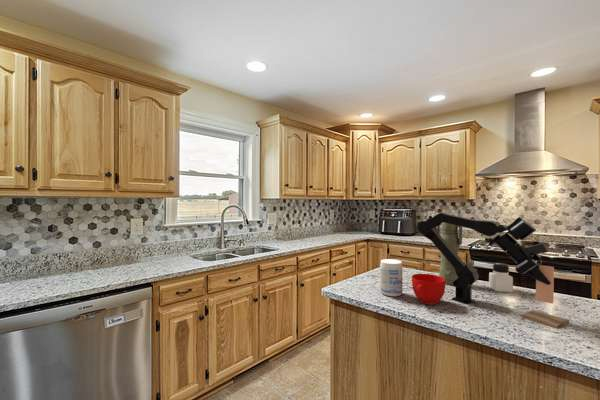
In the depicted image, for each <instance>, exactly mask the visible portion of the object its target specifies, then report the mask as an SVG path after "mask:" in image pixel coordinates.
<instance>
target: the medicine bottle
mask: <svg viewBox="0 0 600 400" xmlns="http://www.w3.org/2000/svg"><path fill="white" fill-rule="evenodd" d="M492 267H493V268H492V272H489V273H488V286H489V288H490V289H492V290H494V291H495V292H501V293H502V292H503V293H504V292H505V293H513V292H514V277H513V276H512V275H509V271H510V269H509V268H510V266H508V265H507V264H504V263H494V264H493V265H492Z"/></svg>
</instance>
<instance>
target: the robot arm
mask: <svg viewBox="0 0 600 400" xmlns="http://www.w3.org/2000/svg"><path fill="white" fill-rule="evenodd" d="M454 215H455V214H448V213H446V212H439V213H437V214H436V215H434V216H433V217H430V218H428V219H427V220H426V219H425V220H422V221H420V222H418V223H417V226H416V229H417V231H418V232H419V234H421V235H422V236H423V237H425V238H426V239H428V240H430V242H432V244H433V245H434V246H435V247H436V248H437V250H438V251H439V252H440V254H441V253H442V254H443V255H444V256H445V258H446V259H447V260H448V261H449V262H450V264H451V265H452V266H453V267H454V270H455V272H456V275H457V276H458V279H456V280H455V281H453V284H454V286H453V287H454V288H455V296H454V297H451V300H454V301H456V302H459V303H462V304H466V305H468V304H470V303H475V302H476V299H473V298H472V296H473V294H472V290H473V289H472V286H473V285H474V284H475V283H476V282H477V281H478V280H479V277H480V276H479V273H478V269H477V268H476V267H475V266H474V265H473V264H472V263H471V262H468V263H466V262H465V261H463V260H462V259H461V258H460V256H459V254H458V255H457V254H456V253H455V252H454V251H453V250H452V248H451V247H450V246H449V245H448V244H447V243H446V242H445V240H444V239H443V238H442V237H441V233H440V234H439V232H438V229H437V226H438V225H440V224H441V223H443V222H445V223H449V224H453V225H457V226H461V227H462V228H467V229H471V230H473V231H475V232H477V233H479V234H481V235H484V236H487V237H490V238H488V240H489V243H488V246H490V247H491V246H492V245H494V244H495V245H497V247H499V248H500V249H501V250H502V251H503V252H504V253H505V254H506V256H507V258H510V259H511V260H513V261H514V262H515V272H517V274H519V275H520V276H521V275H524V276H526V277H529V278H532V279H533V280H535V281H536V280H538V281H540V282H542V283H545V284H547V285H549V284H551V283H550V281H549V280H548V279H547V278H546V277H545V275H544V274H543V273H542V272H541V270H540V269H539V265H542V262H543V261H542V259H541V258H542V256H541V254H546V253H548V252H549V249H548V247H547V245H546V244H545V242H544V241H543V242H540V241H539V240H534V241H532V245H531V244H530V245H528V246H526V245H524V244H520V243H519V242H518V240H519V239H520V240H521V241H523V240H524V239H526V238H527V237H529V236H531V235H532V234H534V232H536V231H537V229H536V227H534V226H533V225H532V224H531V223H529V222H527V221H526V220H525V219H524V218H521V216H520V217H517V218H516V219H515V220H514V221H513V222H511V223H510V224H508V225H505V224H504V225H503V224H499V222H498V221H495V220H487V219H486V220H483V219H482V220H481V219H471V218H468V217H463V216H458V215H455V216H454ZM440 226H441V225H440ZM504 232H506V233H504ZM500 233H504V234H500ZM497 234H498V235H497ZM495 235H496V236H495ZM492 236H495V237H493V238H491V237H492Z"/></svg>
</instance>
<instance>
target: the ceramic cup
mask: <svg viewBox="0 0 600 400" xmlns="http://www.w3.org/2000/svg"><path fill="white" fill-rule="evenodd" d="M445 284H446V280H445V279H444V278H443V277H440V276H439V275H436V274H431V273H415V274H412V275H411V285H412V291H413V293H414V295H415V296H416V297H417V299H418V300H419V302H420V303H422V304H426V305H437V304H438V303H439V302H440V301H441V300H442V298H443V296H444V294H445V291H446V285H445Z"/></svg>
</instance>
